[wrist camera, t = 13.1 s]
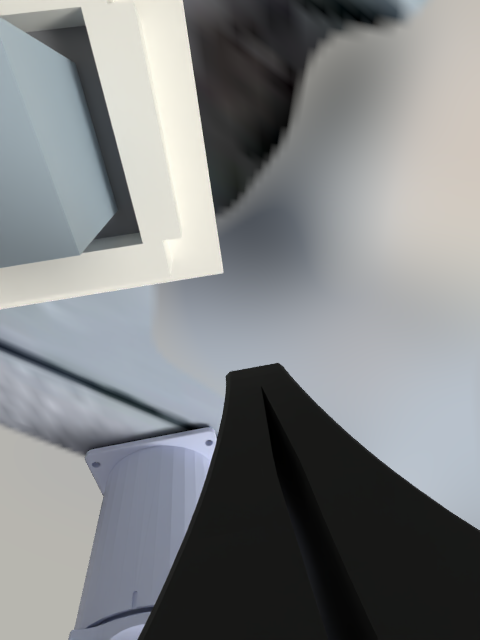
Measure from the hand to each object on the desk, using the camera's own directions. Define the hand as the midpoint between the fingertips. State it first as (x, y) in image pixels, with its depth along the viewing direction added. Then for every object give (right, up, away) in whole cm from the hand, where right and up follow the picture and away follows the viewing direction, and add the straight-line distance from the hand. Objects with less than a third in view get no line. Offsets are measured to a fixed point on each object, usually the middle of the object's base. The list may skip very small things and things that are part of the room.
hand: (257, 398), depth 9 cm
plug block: (-8, +8, +4) cm, 12 cm away
